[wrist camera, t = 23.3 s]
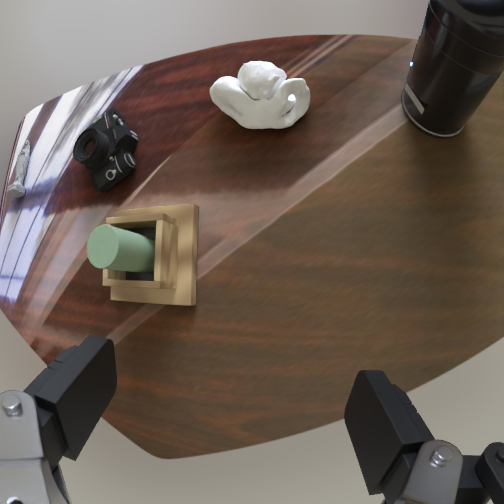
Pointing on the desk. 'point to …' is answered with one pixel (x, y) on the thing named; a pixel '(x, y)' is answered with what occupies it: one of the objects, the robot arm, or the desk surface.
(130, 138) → the film camera
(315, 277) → the desk surface
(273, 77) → the white looped sculpture
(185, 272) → the display stand
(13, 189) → the figurine
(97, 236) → the green tall cylinder
